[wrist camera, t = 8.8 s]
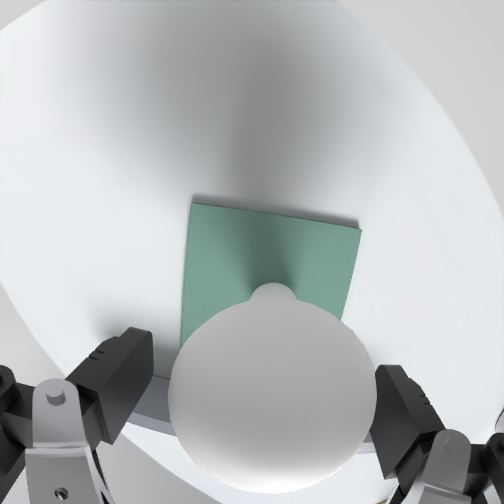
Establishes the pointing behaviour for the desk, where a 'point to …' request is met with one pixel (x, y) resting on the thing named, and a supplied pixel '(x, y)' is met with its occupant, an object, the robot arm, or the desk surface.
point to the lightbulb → (272, 393)
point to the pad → (262, 261)
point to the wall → (158, 418)
